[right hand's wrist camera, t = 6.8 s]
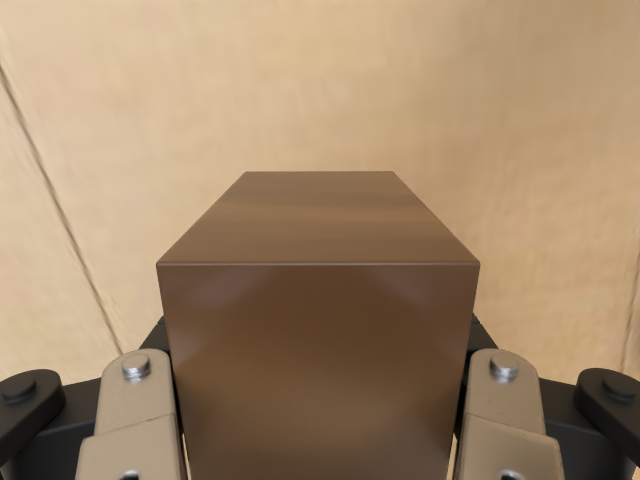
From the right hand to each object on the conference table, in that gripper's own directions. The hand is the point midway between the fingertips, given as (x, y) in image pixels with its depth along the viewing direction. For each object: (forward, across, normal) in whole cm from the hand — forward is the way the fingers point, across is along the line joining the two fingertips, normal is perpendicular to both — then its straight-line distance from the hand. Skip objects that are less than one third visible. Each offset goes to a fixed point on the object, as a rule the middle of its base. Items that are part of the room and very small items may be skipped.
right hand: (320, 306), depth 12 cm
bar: (+4, 0, -10) cm, 11 cm away
